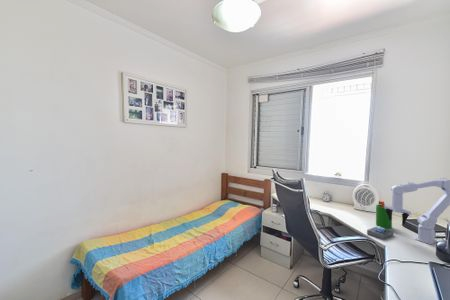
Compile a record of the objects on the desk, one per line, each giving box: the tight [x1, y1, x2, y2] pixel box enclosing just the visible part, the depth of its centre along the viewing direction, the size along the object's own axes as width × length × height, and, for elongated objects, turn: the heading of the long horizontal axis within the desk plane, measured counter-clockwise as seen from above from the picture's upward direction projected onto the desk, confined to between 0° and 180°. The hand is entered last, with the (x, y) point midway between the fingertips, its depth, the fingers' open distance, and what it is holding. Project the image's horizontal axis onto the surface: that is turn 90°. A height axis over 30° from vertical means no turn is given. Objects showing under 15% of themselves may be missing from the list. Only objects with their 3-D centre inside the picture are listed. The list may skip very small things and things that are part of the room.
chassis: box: [366, 225, 395, 241], centre depth 142 cm, size 14×10×3 cm
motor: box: [375, 200, 393, 229], centre depth 157 cm, size 10×9×20 cm
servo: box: [374, 226, 386, 233], centre depth 142 cm, size 7×4×6 cm, turn 117°
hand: (396, 221), depth 140 cm, fingers open, 7 cm apart
